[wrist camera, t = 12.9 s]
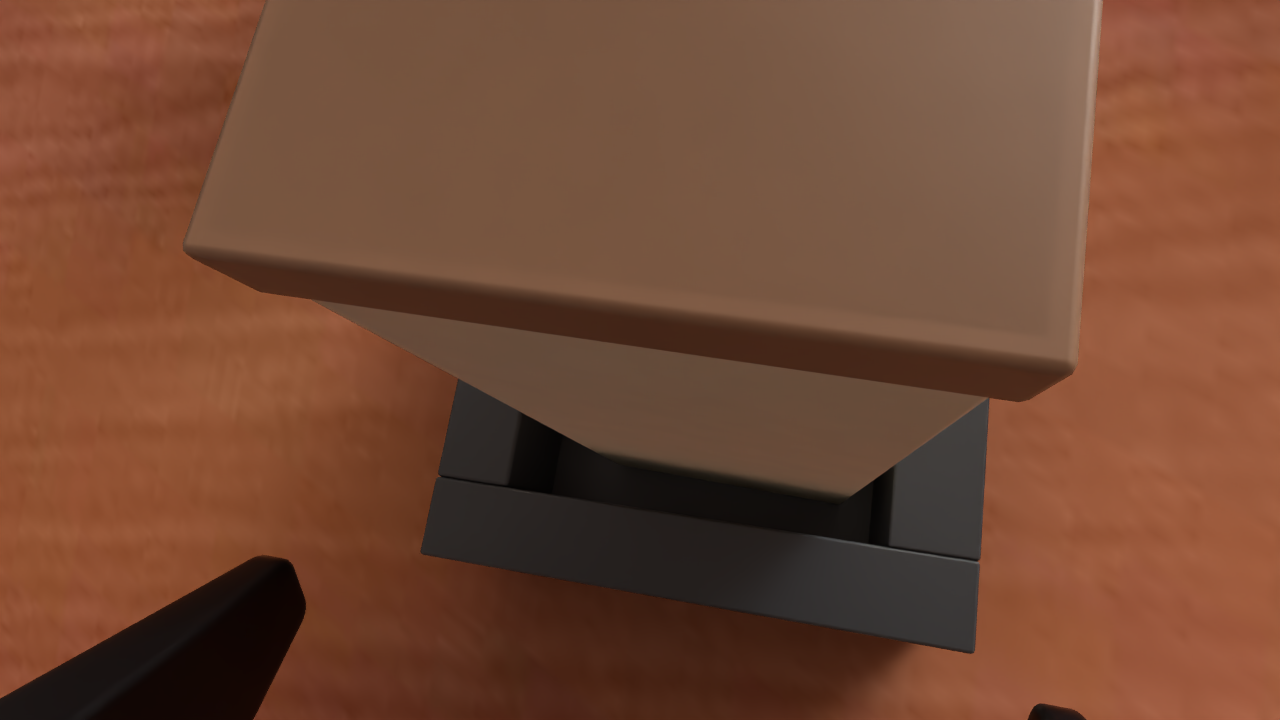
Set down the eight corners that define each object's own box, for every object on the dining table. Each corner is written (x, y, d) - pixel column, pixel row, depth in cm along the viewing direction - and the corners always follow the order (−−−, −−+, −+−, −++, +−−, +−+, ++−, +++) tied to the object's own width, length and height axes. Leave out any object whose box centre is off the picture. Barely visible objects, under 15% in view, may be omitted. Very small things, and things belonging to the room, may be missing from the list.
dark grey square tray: (928, 629, 16) (975, 654, 12) (494, 553, 18) (418, 554, 14) (958, 202, 18) (1006, 109, 14) (567, 176, 20) (518, 90, 16)
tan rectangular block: (845, 510, 16) (1082, 374, 4) (612, 468, 17) (172, 252, 5) (874, 282, 17) (1137, -431, 5) (653, 256, 18) (389, -377, 6)
